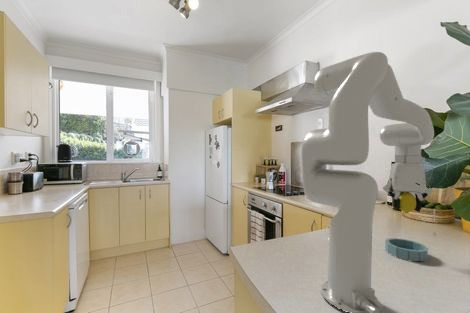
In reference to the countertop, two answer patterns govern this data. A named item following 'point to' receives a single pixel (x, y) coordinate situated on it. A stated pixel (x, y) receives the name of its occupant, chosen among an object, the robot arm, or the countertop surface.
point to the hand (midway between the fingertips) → (406, 209)
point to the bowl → (406, 249)
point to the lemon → (407, 202)
